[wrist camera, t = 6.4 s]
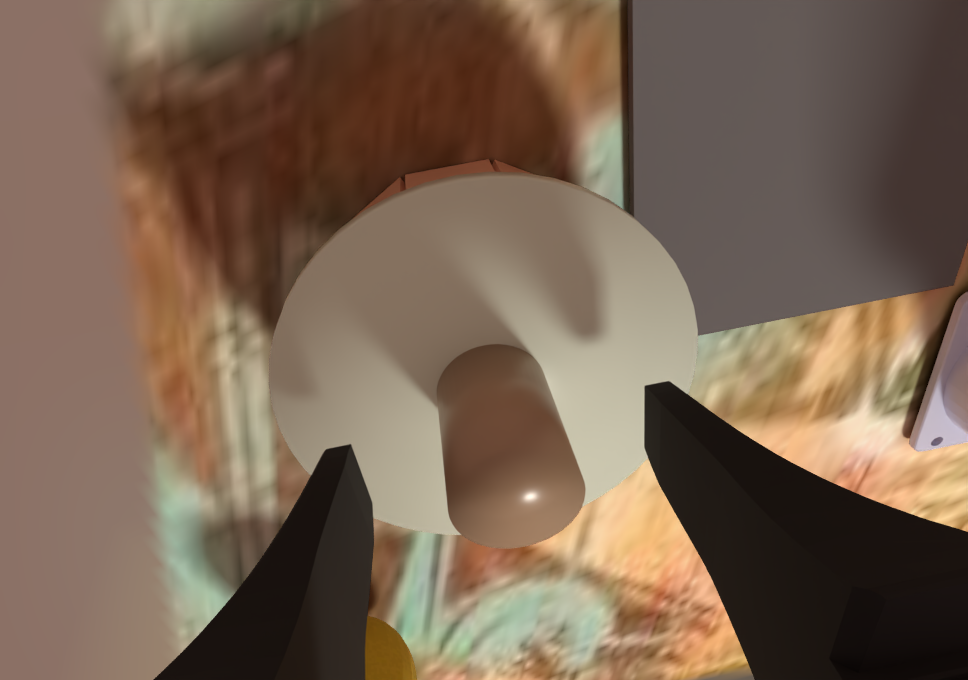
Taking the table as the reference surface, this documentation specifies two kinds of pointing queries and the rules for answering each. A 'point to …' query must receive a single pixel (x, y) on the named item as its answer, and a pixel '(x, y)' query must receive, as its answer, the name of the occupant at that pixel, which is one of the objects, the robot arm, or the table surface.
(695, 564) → the table surface
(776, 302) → the mat
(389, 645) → the lemon
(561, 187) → the lid
